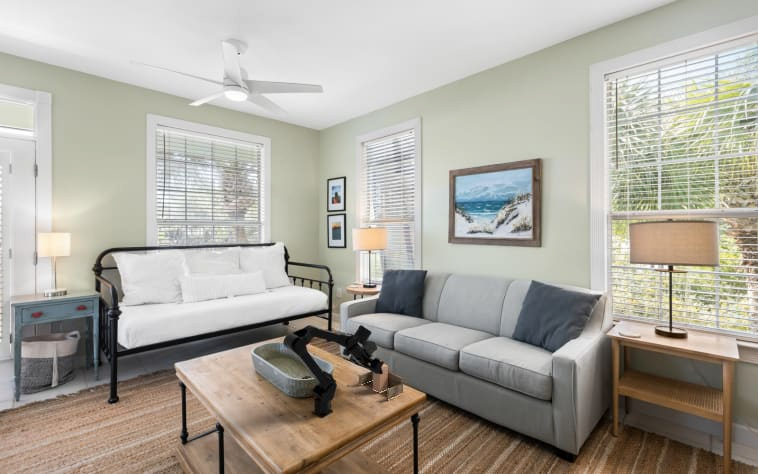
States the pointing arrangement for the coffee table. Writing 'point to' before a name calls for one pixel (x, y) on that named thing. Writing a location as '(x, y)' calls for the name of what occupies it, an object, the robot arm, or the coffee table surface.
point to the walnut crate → (393, 383)
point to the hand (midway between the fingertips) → (375, 370)
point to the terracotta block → (381, 379)
